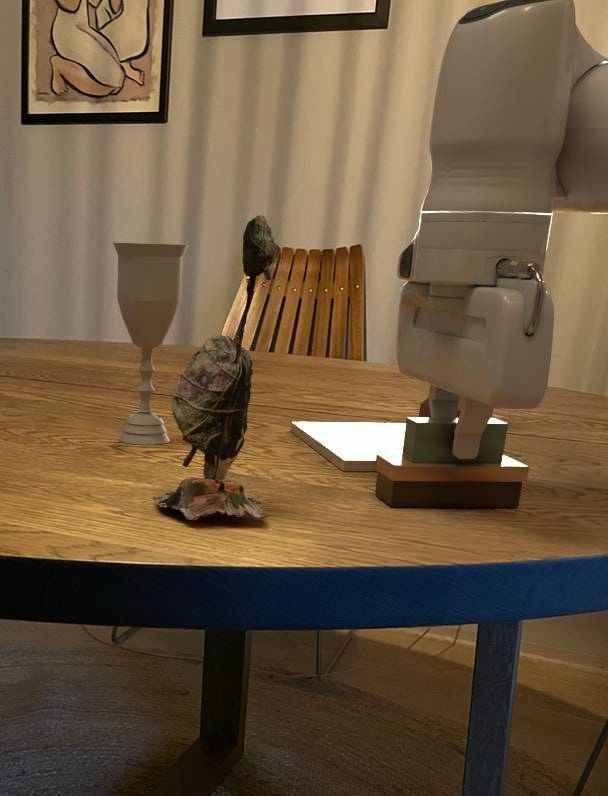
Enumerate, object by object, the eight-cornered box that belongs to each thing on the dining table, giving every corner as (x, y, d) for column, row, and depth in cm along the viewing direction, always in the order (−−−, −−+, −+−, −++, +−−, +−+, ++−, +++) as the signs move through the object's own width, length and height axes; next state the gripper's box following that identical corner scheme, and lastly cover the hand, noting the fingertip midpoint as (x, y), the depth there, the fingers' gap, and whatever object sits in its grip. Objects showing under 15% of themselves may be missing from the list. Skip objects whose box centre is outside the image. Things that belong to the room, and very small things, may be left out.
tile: (419, 433, 109) (421, 423, 109) (497, 472, 91) (499, 461, 90) (290, 431, 108) (291, 421, 108) (342, 471, 90) (343, 460, 89)
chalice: (145, 449, 97) (152, 243, 90) (93, 439, 101) (96, 242, 94) (194, 440, 102) (204, 245, 95) (143, 431, 106) (149, 243, 99)
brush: (498, 494, 82) (510, 416, 80) (522, 508, 78) (536, 426, 76) (371, 494, 81) (380, 414, 79) (388, 507, 77) (398, 424, 75)
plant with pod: (253, 493, 81) (273, 218, 74) (273, 531, 70) (299, 214, 63) (150, 490, 81) (160, 214, 73) (154, 528, 70) (166, 210, 63)
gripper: (594, 262, 64) (556, 482, 69) (467, 257, 83) (444, 429, 88) (496, 260, 64) (464, 481, 69) (391, 255, 83) (372, 428, 88)
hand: (452, 452), depth 78 cm, fingers closed on brush, 2 cm apart
